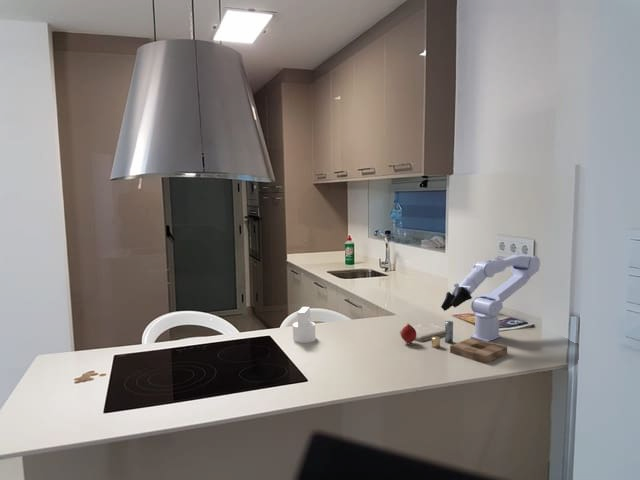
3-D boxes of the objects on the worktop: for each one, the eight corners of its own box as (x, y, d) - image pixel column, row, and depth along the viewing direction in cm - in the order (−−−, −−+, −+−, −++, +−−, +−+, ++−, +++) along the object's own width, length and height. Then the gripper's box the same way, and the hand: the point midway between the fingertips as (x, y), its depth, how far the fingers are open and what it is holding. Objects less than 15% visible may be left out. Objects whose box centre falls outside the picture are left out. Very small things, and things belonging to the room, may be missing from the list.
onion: (416, 341, 174) (416, 321, 173) (415, 346, 168) (415, 326, 167) (401, 340, 175) (401, 320, 174) (400, 345, 170) (400, 325, 169)
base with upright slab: (312, 343, 174) (312, 313, 173) (290, 342, 176) (289, 312, 174) (317, 335, 183) (317, 307, 181) (296, 334, 185) (295, 306, 183)
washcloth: (452, 335, 182) (452, 327, 182) (419, 343, 173) (420, 335, 173) (430, 328, 192) (430, 321, 192) (399, 335, 183) (399, 328, 183)
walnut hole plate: (472, 343, 170) (472, 337, 170) (507, 353, 159) (507, 347, 159) (450, 352, 162) (450, 345, 161) (485, 363, 151) (485, 356, 150)
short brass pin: (435, 344, 170) (435, 335, 169) (441, 346, 167) (441, 337, 167) (430, 346, 168) (430, 337, 168) (436, 348, 166) (436, 339, 165)
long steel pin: (447, 340, 175) (448, 320, 174) (454, 342, 172) (454, 322, 172) (443, 341, 173) (443, 321, 172) (449, 343, 171) (450, 323, 170)
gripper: (453, 280, 178) (431, 302, 173) (472, 271, 164) (450, 295, 159) (465, 293, 177) (444, 316, 172) (486, 286, 163) (463, 310, 159)
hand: (447, 307), depth 166 cm, fingers open, 7 cm apart
